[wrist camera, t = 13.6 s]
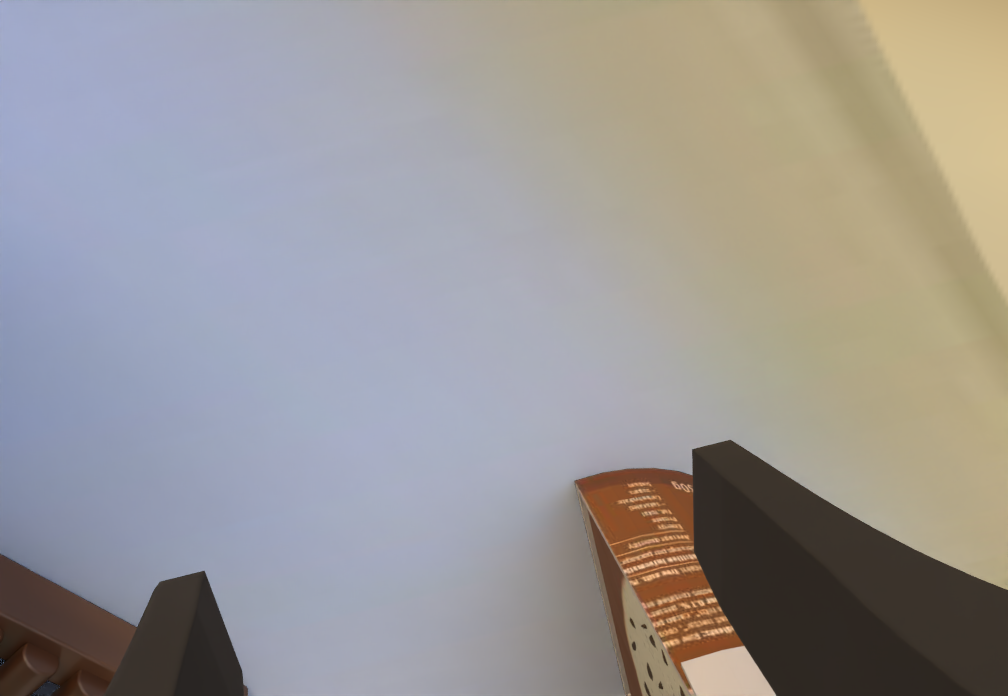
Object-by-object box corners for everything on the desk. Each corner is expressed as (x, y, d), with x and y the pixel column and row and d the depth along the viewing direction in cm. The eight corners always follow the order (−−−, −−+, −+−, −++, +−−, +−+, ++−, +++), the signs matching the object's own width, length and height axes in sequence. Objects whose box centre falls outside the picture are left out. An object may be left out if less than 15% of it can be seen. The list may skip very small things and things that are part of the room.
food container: (798, 659, 33) (994, 954, 25) (631, 721, 32) (772, 1045, 24) (774, 368, 26) (1028, 634, 18) (564, 439, 26) (724, 747, 17)
